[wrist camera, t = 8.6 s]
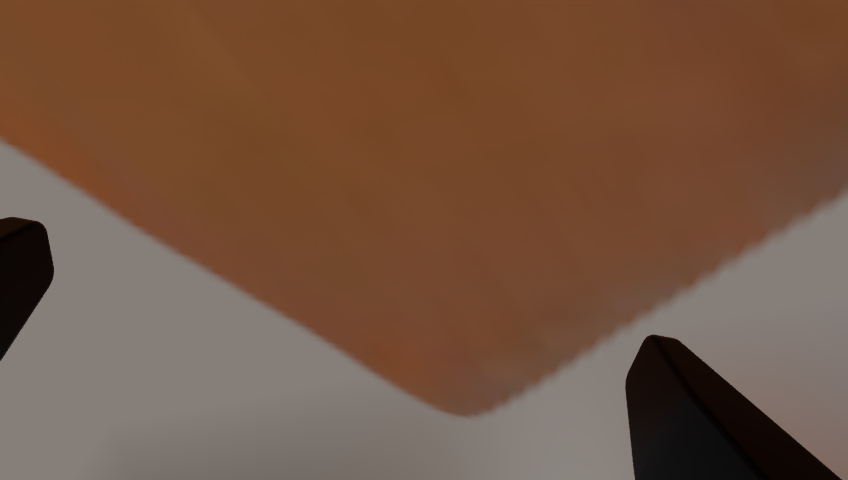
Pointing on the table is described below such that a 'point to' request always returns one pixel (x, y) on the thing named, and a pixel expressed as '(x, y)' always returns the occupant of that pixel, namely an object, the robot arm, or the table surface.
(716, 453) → the robot arm
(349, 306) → the table surface
